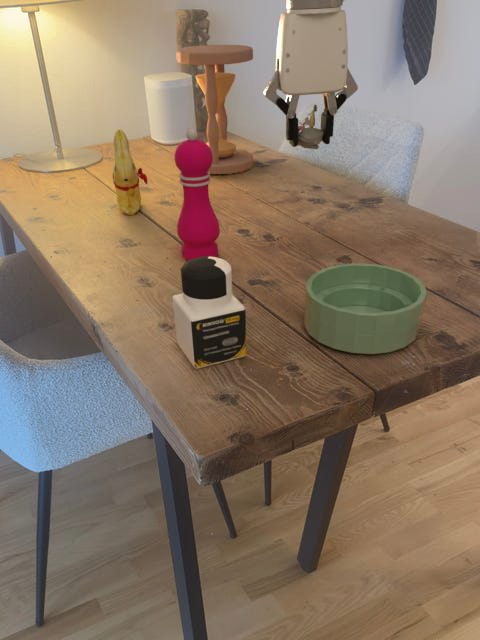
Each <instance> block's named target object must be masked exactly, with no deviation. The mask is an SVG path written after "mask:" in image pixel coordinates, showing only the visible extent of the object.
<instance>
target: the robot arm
mask: <svg viewBox="0 0 480 640" xmlns="http://www.w3.org/2000/svg"><path fill="white" fill-rule="evenodd" d="M344 2H345V0H286V12H281V13H280V16H279V24H278V29H277V38H276V39H277V40H276V51H275V52H276V53H275V54H276V55H275V72H274V74H272V77H271V78H270V80H269V82H268V84H267V85H266V88H265V89H264V91H263V96H264V97H265V98H266V99H267V100H269V101H270V102H271V103H273V105H276V106H277V108H278V109H279V110H280V111H281V112H282V113H283V114H284V115H285V139H286V140H287V141H288V143H289V145H290V146H292V148H297V146H298V126H299V118H298V117H297V113H296V112H297V108H298V103H299V99H300V96H309V95H322V100H323V106H324V109H323V111H322V112H321V115H320V130H322V131H324V133H323V137H322V141H321V142H322V143H323V144H325V145H330V143H331V138H332V137H333V136H334V125H335V124H334V123H335V115H337V113H338V111H339V109H340V108H341V107H342V106H343V105H344V103H345V102H346V101H347V99H349V98H350V97H351V96H353V95H354V94H355V93H356V92H357V91H358V89H359V86H358V84H357V82H356V80H355V78H354V77H353V75H352V73H351V71H350V69H349V68H348V67H349V66H348V64H349V63H348V62H349V61H348V60H349V59H348V58H349V53H348V52H349V51H348V50H349V49H348V47H349V46H348V45H349V44H348V43H349V42H348V26H347V24H348V23H347V16H346V15H347V14H346V10H344V9H342V6H343V3H344ZM277 90H278V91H280V92H282V93H283V94H284V95H286V99H285V100H284V98H283V97H282V96H280V95H279V94H278V93H277Z"/></svg>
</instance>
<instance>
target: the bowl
mask: <svg viewBox="0 0 480 640" xmlns="http://www.w3.org/2000/svg"><path fill="white" fill-rule="evenodd" d="M427 295H428V294H427V289H426V285H425V284H424V283H423V282H422V281H421V280H420V279H419V278H418V277H416V276H414V275H413V274H411V273H409V272H407V271H406V270H405V271H404V270H401V269H399V268H395V267H392V266H389V265H388V266H387V265H382V264H375V263H358V262H357V263H356V262H355V263H344V264H343V263H342V264H337V265H332V266H328V267H324V268H322V269H320V270H318V271H316V272H314V273H313V274H312V275H311V276H310V277H309V278H308V280H306V286H305V300H304V301H305V302H304V317H303V318H304V319H303V326H304V328H305V330H306V332H307V334H308V335H309V336H310V337H311V338H313V339H314V340H315V341H316V342H317V343H319V344H322V345H325V346H326V347H329V348H332V349H334V350H337V351H342V352H346V353H351V354H363V355H377V354H378V355H379V354H386V353H392V352H394V351H397V350H401V349H404V348H406V347H407V346H409V345H410V344H412V343H413V342H414V341H416V339H417V337H418V335H419V333H420V329H421V324H422V320H423V314H424V311H425V306H426V301H427Z"/></svg>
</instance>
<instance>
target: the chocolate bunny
mask: <svg viewBox="0 0 480 640" xmlns="http://www.w3.org/2000/svg"><path fill="white" fill-rule="evenodd" d="M113 145H114V146H113V147H114V161H113V170H112V182H113V185H114V189H115V194H116V202H117V204H118V206H119V209H120V210H121V212H122V213H124V214H126V215H127V216H134V215H135V214H136V213H138V212H139V210H140V208H141V205H142V195H141V188H140V179H141V180H143V182H144V183H145V185H148V177H147V175H146V174H145V173H144V172H143V168H142V167H139V168H138V169H137V167H136V164H135V162H134V159H133V157H132V154H131V151H130V145H129V139H128V137H127V135H126V132H124V131H123V130H122V129H117V130H116V131H115V133H114V137H113Z"/></svg>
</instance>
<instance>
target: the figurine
mask: <svg viewBox="0 0 480 640" xmlns="http://www.w3.org/2000/svg"><path fill="white" fill-rule="evenodd" d="M316 112H318V105H317V104H314V105H313V107H312V110H311V112H309V113H307V115H306V117H305V118H304V119H303V120H301V119H298V124H299V125H298V146H299V147H301V148H303V149H310V150H318V149H320V146H319V145H320V143H321V142H322V137H323V133H324V131H322V130H321V128H317V127H315V126H316V114H315V113H316Z"/></svg>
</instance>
